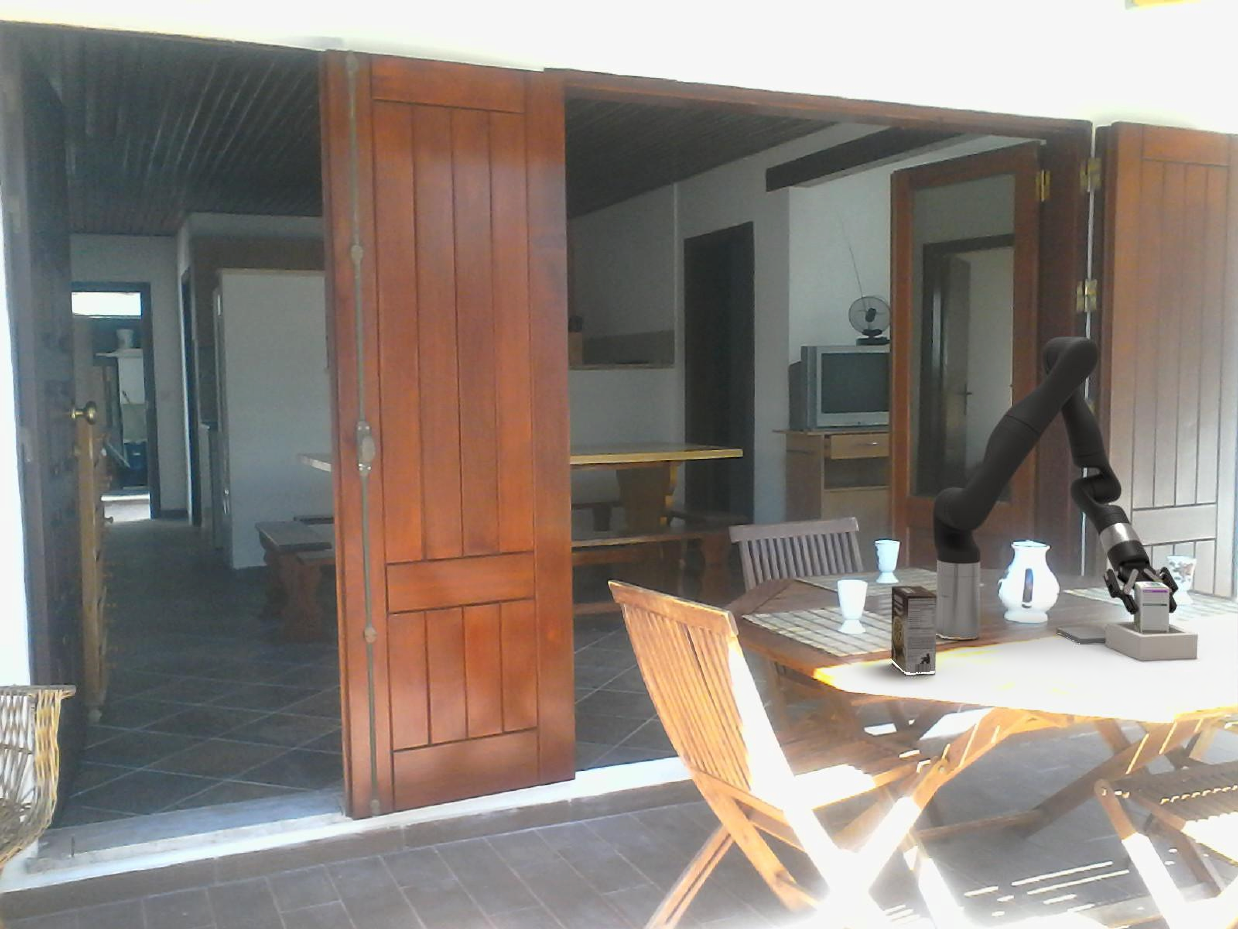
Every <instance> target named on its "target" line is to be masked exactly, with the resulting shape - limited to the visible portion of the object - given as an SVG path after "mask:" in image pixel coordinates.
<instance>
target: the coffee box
mask: <svg viewBox="0 0 1238 929" xmlns="http://www.w3.org/2000/svg"><path fill="white" fill-rule="evenodd" d="M933 593H934V592H932V591H930V590H928V589H927V588H924V587H923V586H922V585H920V586H919V585H916V586H915V585H914V586H912V585H895V586H894V585H893V586H891V639H890V640H891V645H890V646H891V649H890V650H891V651H890V652H891V653H890V654H891V655H890V657H891V659H892V660H893V661H894V662H895V663H896V664H897V665H898V666H899V667H900V668H901V669H902V670H903V671H905V672H910V673H916V672H918V673H919V672H920V673H921V672H930V671H935V672H936V656H937V653H936V652H937V635H936V623H937V595H935V594H933ZM891 659H890V660H891Z"/></svg>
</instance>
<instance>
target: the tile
mask: <svg viewBox="0 0 1238 929" xmlns="http://www.w3.org/2000/svg"><path fill="white" fill-rule="evenodd" d="M1057 633H1061V634H1062V635H1064V636H1065V637H1064V636H1063V637H1064V638H1066V637H1068V638H1070V639H1071V640H1070V639H1069V640H1070V641H1072V640H1074V641H1075V642H1074V641H1073V642H1074V643H1076V644H1079V643H1080V644H1079V645H1094V644H1093V643H1100V644H1106V628H1103V627H1101V626H1098V625H1097V626H1074V627H1072V626H1071V627H1057V628H1056V634H1057ZM1068 638H1067V639H1068Z"/></svg>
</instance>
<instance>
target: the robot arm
mask: <svg viewBox="0 0 1238 929" xmlns="http://www.w3.org/2000/svg"><path fill="white" fill-rule="evenodd" d="M1099 354H1100V351H1099V347H1098V345H1097V343H1096V342H1095V341H1094V340H1093V339H1091V338H1088V337H1085V336H1058V337H1054V338H1051V339H1050V340H1049V341H1048V342H1047V343H1045V345H1044V347H1043V348H1042V352H1041V361H1042V367H1043V369H1044V372H1045V374H1046V377H1045V378H1044V380H1042V382H1040V384H1039V385H1037V386H1036V387H1035V388H1034V389H1033V390H1031V391H1030V392H1028V393H1027V394H1026V395H1025V396H1023V397H1022V398H1021V399H1020V400H1018V401H1017V402H1015V403H1014V404H1013V405H1011V407H1010V408H1009V409H1008V410H1007V411H1006V412H1005V413H1004V414H1003V416H1002V417H1001V418H1000V420H999V421H998V422H997V424H996V426H995V427H994V428H993V429H992V431H991V433H990V435H989V438H988V440H987V444H986V446H985V449H984V450H985V451H984V455H983V459H982V462H981V464H980V466H979V468H978V470H977V471H976V473H975V474H974V475H973V477H972V478H971V479H970V481H969V482H968V483H967V484H966V485H965V487H964V488H962V487H956V486H955V487H954V486H953V487H947V488H945V489H943V490H942V491H940V492H939V493H938V495H937V496H936V498H935V500H934V503H933V512H932V514H933V515H932V521H933V523H932V524H933V527H932V528H933V545H934V548H935V551H936V591H933V592H932V593H933V594H935V595H937V623H936V632H937V633H939V634H941V635H943V636H948V637H961V638H973V637H974V638H975V637H978V638H980V600H981V599H980V594H981V593H980V591H981V590H980V589H981V549H980V547H979V546H978V545H977V543H976V541H975V540H974V536H973V531H976V530H978V529H979V528H980V527H982V525H984V523H985V522H986V520H987V519H988V518H989V516H990V514H991V512H992V510H993V508H994V507H995V505H996V503H997V501H998V500H999V498H1000V496H1001V495H1002V494H1003V493H1002V492H1003V491H1004V489H1005V488H1006V486H1007V484H1008V483H1009V481H1011V479H1012V478H1013V477H1014V475H1015V473H1016V472H1017V471H1018V469H1019V468H1020V466H1021V465H1022V464H1023V463H1024V461H1025V460H1026V458H1027V457H1028V456H1029V454H1030V453H1031V452H1032V450H1033V449H1034V448H1035V446H1036V445H1037V444H1038V442H1039V441H1040V439H1041V438H1042V436H1043V434H1045V431H1046V430H1047V429H1048V428H1049V426H1050V425H1051V423H1052V422H1053V421H1054V420H1055V418H1056V417H1057V415H1058V414H1059V412H1060V413H1061V416H1062V421H1063V423H1064V426H1065V431H1066V435H1067V441H1068V444H1069V448H1070V449H1069V450H1070V454H1071V459H1072V463H1073V465H1074V466H1075V467H1077V468H1080V469H1090V468H1091V469H1097V471H1098V473H1095V474H1091V475H1087V476H1083V477H1080V478H1076V479H1074V480H1073V482H1071V485H1070V489H1069V492H1070V496H1071V499H1072V501H1073V503H1074V504H1075V505H1076V506H1077V507H1078V509H1080V511H1081V512H1083V514H1084V515H1085V516H1086V517H1087V518H1088V519H1089V521H1090V522H1091V523H1092V524H1093V526H1094V528H1095V530H1096V533H1097V534H1098V537H1099V539H1100V543H1101V545H1102V548H1103V550H1104V553H1105V555H1106V557H1107V559H1108V561H1109V564H1110V566H1111V568H1108V569H1107V570H1106V572H1104V574H1103V575H1102V578H1103V580H1104V583H1105V586H1106V588H1107V591H1108V593H1109V596H1110V598H1112V599H1116V598H1117V599H1119V600H1120V601H1122V604H1123V605H1124V607H1125V610H1126V611H1127V612H1128V613H1129V614H1130V615H1133V616H1134V615H1135V614H1136V613H1137V611H1138V607H1137V605H1136V603H1135V601H1134V596H1133V594H1130V593H1131V592H1132V590H1133V591H1134V586H1135V582H1160V583H1163V584H1164V585H1166V586H1167V587H1169V614H1174V612H1176V610H1177V608H1178V605H1177V604H1178V603H1177V602H1176V600H1175V598H1174V595H1175V594H1176V593H1177V591H1178V590H1179V585H1178V584H1177V581H1175V579H1174V578H1173V576H1172V574H1171V572H1170V570H1169V568H1168V567H1167V566H1162V567H1161V568H1159V569H1154V568H1153V566H1152V565H1151V561H1150V558H1149V555H1148V553H1147V551H1146V548H1144V545H1143V544H1142V542H1141V539H1140V537H1139V535H1138V534H1137V532H1136V530H1135V529H1134V528H1133V526H1132V523H1131V522H1130V519H1129V517H1128V516H1127V513H1126V512H1125V510H1124V509H1123V507H1121V506H1120V505H1117V504H1112V503H1114V502H1117V501H1118V500H1119V499H1120V497H1121V496H1122V486H1121V482H1120V480H1119V478H1118V477H1117V475H1116V474H1115V472H1114V469H1112V466H1111V464H1110V462H1109V459H1108V457H1107V454H1106V449H1105V445H1104V441H1103V436H1102V431H1101V427H1100V425H1099V423H1098V421H1097V419H1096V417H1095V415H1094V414H1093V411H1092V410H1091V409H1090V407H1089V405H1088V403H1087V402H1086V400H1085V398H1084V395H1083V393H1082V391H1081V386H1082V384H1083V383H1085V381H1086V380H1087V379H1088V378H1089V377H1090V376H1091V374H1092V373H1093V372H1094V371H1095V368H1096V367H1097V364H1098V362H1099V359H1100V358H1099V357H1100V355H1099ZM1110 503H1111V504H1110ZM1118 580H1119V581H1120V582H1121V583H1122V584H1123V585H1122V587H1120V585H1119V583H1118Z"/></svg>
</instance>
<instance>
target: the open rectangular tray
mask: <svg viewBox="0 0 1238 929" xmlns="http://www.w3.org/2000/svg"><path fill="white" fill-rule="evenodd" d="M1105 629H1106V643H1105V646H1106V647H1108V648H1110V647H1111V648H1110V649H1112V648H1113V650H1114V651H1117V650H1118V651H1117V652H1119V651H1120V652H1119V653H1121V652H1122V653H1121V654H1124V655H1127V656H1128V657H1131V658H1132V657H1133V659H1134V660H1137V661H1139V662H1144V661H1145V662H1146V661H1147V662H1148V661H1166V660H1167V661H1169V660H1187V659H1193V660H1194V659H1198V641H1199V640H1198V638H1199V634H1198V633H1195V632H1192V631H1189V630H1187V629H1184V628H1182V627H1179V626H1176V625H1173V624H1170V623H1169V634H1150V635H1143V634H1140V633H1138V632H1135V631H1134V621H1118V622H1117V621H1115V622H1106V623H1105Z"/></svg>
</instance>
